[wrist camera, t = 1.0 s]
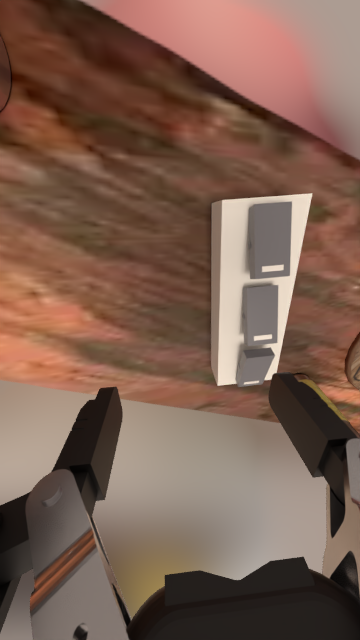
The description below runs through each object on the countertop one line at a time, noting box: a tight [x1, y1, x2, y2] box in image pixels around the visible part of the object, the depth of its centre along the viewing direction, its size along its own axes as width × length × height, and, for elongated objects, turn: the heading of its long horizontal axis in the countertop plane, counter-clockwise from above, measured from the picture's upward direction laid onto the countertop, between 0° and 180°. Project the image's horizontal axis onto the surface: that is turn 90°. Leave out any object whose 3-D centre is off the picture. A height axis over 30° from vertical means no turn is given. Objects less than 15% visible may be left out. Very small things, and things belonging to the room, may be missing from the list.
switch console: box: [211, 193, 312, 386], centre depth 30 cm, size 27×10×5 cm, turn 4°
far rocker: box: [236, 347, 275, 387], centre depth 31 cm, size 8×4×2 cm, turn 4°
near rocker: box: [248, 201, 292, 279], centre depth 22 cm, size 8×4×2 cm, turn 4°
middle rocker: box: [242, 285, 278, 346], centre depth 26 cm, size 8×4×2 cm, turn 4°
